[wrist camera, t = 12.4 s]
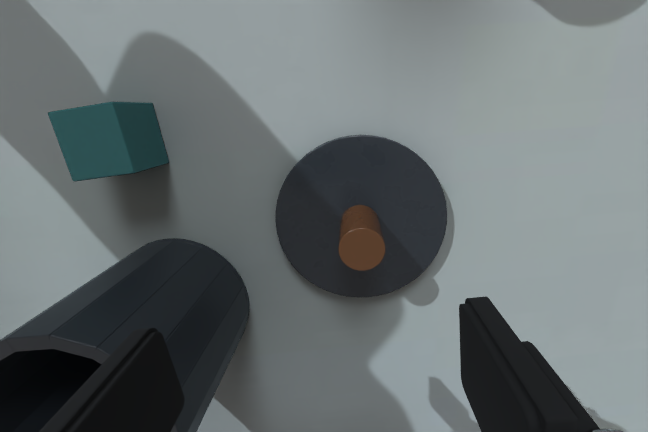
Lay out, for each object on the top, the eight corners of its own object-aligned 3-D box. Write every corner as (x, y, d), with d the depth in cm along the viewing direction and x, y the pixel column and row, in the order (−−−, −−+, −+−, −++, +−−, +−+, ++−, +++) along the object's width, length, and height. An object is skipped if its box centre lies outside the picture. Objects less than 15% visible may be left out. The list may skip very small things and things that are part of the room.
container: (102, 245, 28) (-79, 345, 16) (232, 231, 27) (140, 327, 15) (143, 358, 32) (18, 508, 20) (261, 350, 30) (204, 505, 18)
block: (97, 111, 25) (46, 112, 21) (152, 102, 24) (111, 101, 20) (117, 170, 26) (72, 181, 22) (169, 162, 26) (134, 173, 21)
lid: (264, 147, 25) (237, 159, 19) (439, 122, 23) (469, 126, 17) (293, 296, 28) (278, 345, 22) (445, 282, 27) (472, 331, 21)
